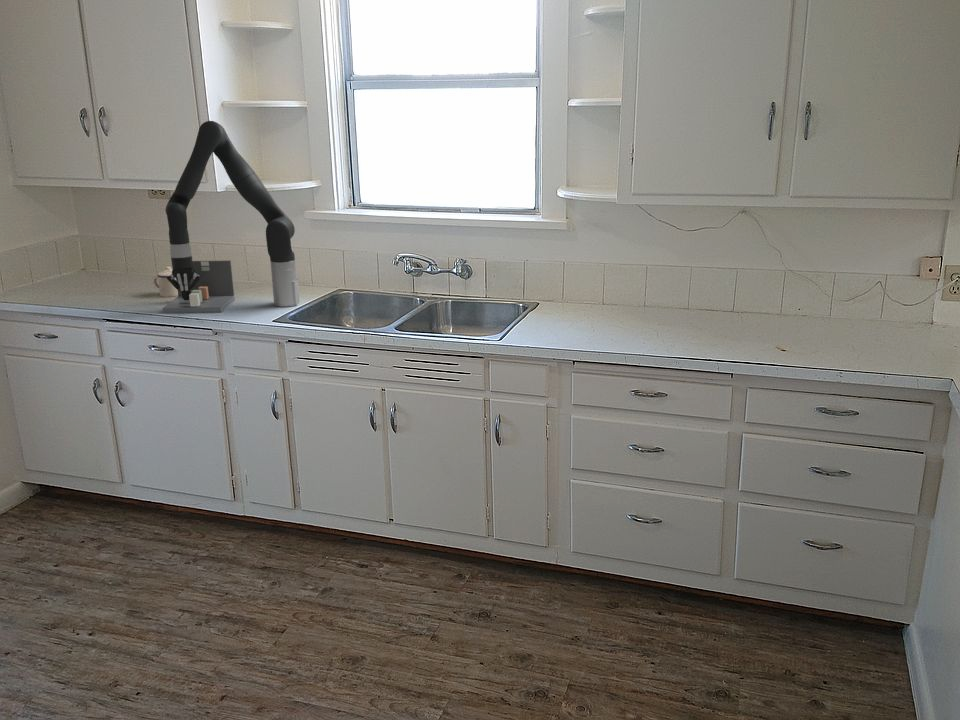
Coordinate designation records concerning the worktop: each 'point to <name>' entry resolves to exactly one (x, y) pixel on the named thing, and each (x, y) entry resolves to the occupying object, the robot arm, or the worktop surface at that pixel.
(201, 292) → the sage slider
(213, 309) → the switch unit
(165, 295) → the teacup with lid
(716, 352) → the worktop surface
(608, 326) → the worktop surface
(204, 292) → the terracotta slider
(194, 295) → the cream slider
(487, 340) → the worktop surface
